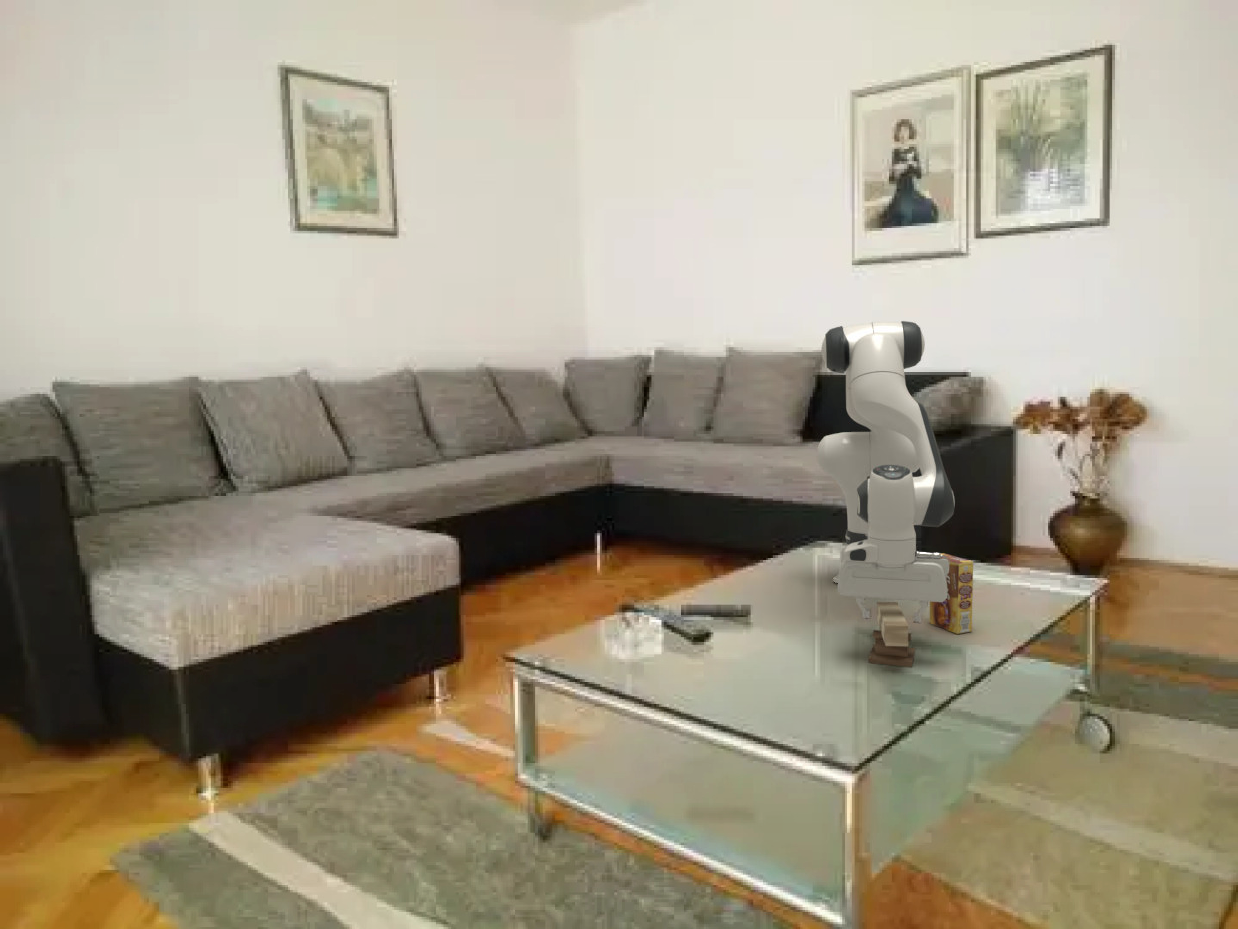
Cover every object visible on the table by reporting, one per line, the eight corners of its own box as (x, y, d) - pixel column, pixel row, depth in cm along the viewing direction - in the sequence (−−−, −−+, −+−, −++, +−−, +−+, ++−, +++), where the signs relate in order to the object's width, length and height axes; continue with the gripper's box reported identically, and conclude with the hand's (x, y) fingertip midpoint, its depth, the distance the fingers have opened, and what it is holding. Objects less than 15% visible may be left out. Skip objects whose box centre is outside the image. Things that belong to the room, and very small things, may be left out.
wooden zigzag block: (877, 621, 176) (876, 601, 176) (897, 621, 176) (897, 602, 175) (885, 646, 162) (885, 625, 161) (908, 646, 161) (908, 625, 160)
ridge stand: (873, 649, 174) (872, 625, 174) (915, 653, 171) (915, 628, 171) (868, 663, 167) (868, 638, 167) (911, 667, 164) (911, 641, 163)
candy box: (973, 632, 182) (974, 561, 180) (957, 635, 181) (957, 563, 179) (944, 620, 190) (944, 552, 188) (928, 623, 189) (928, 554, 187)
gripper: (950, 549, 165) (949, 619, 167) (840, 544, 173) (841, 611, 175) (948, 557, 160) (948, 629, 161) (835, 551, 168) (836, 621, 169)
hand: (891, 620), depth 168 cm, fingers open, 8 cm apart
